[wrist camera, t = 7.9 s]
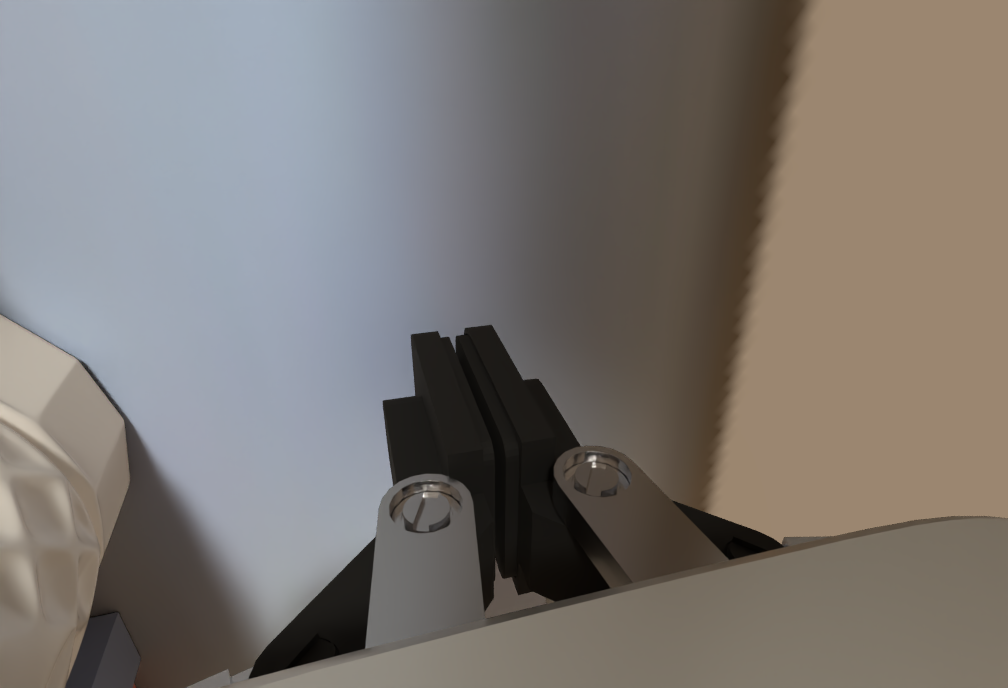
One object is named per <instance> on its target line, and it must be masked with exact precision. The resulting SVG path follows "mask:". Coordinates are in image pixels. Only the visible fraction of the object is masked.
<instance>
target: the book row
mask: <svg viewBox="0 0 1008 688" xmlns="http://www.w3.org/2000/svg"><path fill="white" fill-rule="evenodd" d="M140 660H141V658H140V656H139V654H138V652H137V650H136V647H135V645H134V643H133V641H132V639H131V637H130V635H129V633H128V631H127V629H126V627H125V625H124V623H123V621H122V619H121V617H120V615H119V613H118V612H117V613H112V614H108V615H103V616H98V617H94V618H89V621H88V624H87V627H86V630H85V633H84V636H83V639H82V642H81V645H80V648H79V651H78V654H77V657H76V660H75V662H74V665H73V668H72V670H71V673H70V675H69V678H68V680H67V683H66V687H65V688H136V686H135V684H134V681H135V678H136V674H137V671H138V667H139V664H140Z"/></svg>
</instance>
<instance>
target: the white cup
mask: <svg viewBox="0 0 1008 688" xmlns="http://www.w3.org/2000/svg"><path fill="white" fill-rule="evenodd" d="M129 484H130V472H129V462H128V452H127V442H126V433H125V423H124V419H123V418H122V416H121V415H120V414H119V413H118V411H117V410H116V409H115V407H114V406H113V405H112V403H111V402H110V401H109V400H108V398H107V397H106V396H105V394H104V393H103V392H102V390H101V389H100V388H99V387H98V385H97V384H96V383H95V381H94V380H93V379H92V377H91V376H90V375H89V373H88V372H87V371H86V370H85V368H84V367H83V366H82V364H81V363H80V362H79V361H78V360H77V359H76V358H75V357H73V356H71V355H69V354H68V353H66V352H64V351H63V350H61V349H59V348H57V347H56V346H54V345H52V344H51V343H49V342H47V341H45V340H44V339H42V338H40V337H38V336H37V335H35V334H33V333H32V332H30V331H28V330H26V329H25V328H23V327H21V326H20V325H18V324H16V323H14V322H13V321H11V320H9V319H7V318H6V317H4V316H2V315H1V314H0V688H65V687H66V683H67V680H68V678H69V675H70V673H71V670H72V668H73V665H74V662H75V660H76V657H77V654H78V651H79V648H80V645H81V642H82V639H83V636H84V633H85V630H86V627H87V624H88V621H89V617H90V612H91V608H92V603H93V598H94V593H95V588H96V582H97V577H98V570H99V566H100V564H101V561H102V559H103V556H104V553H105V550H106V548H107V545H108V542H109V540H110V537H111V534H112V531H113V529H114V526H115V523H116V520H117V518H118V515H119V512H120V510H121V507H122V504H123V501H124V499H125V496H126V493H127V490H128V487H129Z"/></svg>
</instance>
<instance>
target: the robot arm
mask: <svg viewBox="0 0 1008 688" xmlns="http://www.w3.org/2000/svg"><path fill="white" fill-rule="evenodd" d="M411 346H412V359H413V371H414V383H415V396H412V397H405V398H398V399H391V400H384V401H383V410H384V419H385V428H386V436H387V444H388V452H389V460H390V467H391V474H392V480H393V487H391V488H390V489H389V490H388V491H387V493H386V494H385V495H384V496H383V498H382V500H381V503H380V506H379V510H378V521H377V531H376V537H375V538H374V539H373V540H372V541H371V542H370V543H369V544H368V545H367V546H366V547H365V548H364V549H363V550H362V551H361V552H360V553H359V554H358V555H357V556H356V557H355V558H354V559H353V560H352V561H351V562H350V563H349V564H348V565H347V566H346V567H345V568H344V569H343V570H342V571H341V572H340V573H339V574H338V575H337V576H336V577H335V578H334V579H333V580H332V581H331V582H330V583H329V584H328V585H327V586H326V587H325V588H324V589H323V590H322V591H321V592H320V593H319V594H318V595H317V596H316V597H315V598H314V599H313V600H312V601H311V602H310V603H309V604H308V605H307V606H306V607H305V608H304V609H303V610H302V611H301V612H300V613H299V614H298V615H297V617H296V618H295V619H294V620H293V621H292V622H291V623H290V624H289V625H288V626H287V627H286V628H285V629H284V630H283V631H282V632H281V633H280V634H279V635H278V636H277V637H276V638H275V639H274V640H273V641H272V642H271V643H270V644H269V645H268V646H267V647H266V649H265V650H264V651H263V652H262V654H261V655H260V656H259V657H258V659H257V660H256V662H255V664H254V667H252V668H249V669H247V670H245V671H243V672H240V673H238V674H236V675H234V676H231V675H230V672H229V670H228V669H227V670H225V671H222V672H220V673H218V674H216V675H213V676H211V677H209V678H206V679H204V680H202V681H200V682H197V683H195V684H193V685H190V686H188V687H186V688H1008V518H1000V517H988V516H951V517H941V518H932V519H923V520H922V519H921V520H914V521H908V522H904V523H898V524H892V525H887V526H881V527H875V528H870V529H865V530H861V531H856V532H852V533H847V534H842V535H838V536H830V537H784V539H783V542H782V544H780V543H779V542H777V541H776V540H774V539H773V538H771V537H769V536H767V535H765V534H762V533H760V532H758V531H756V530H752V529H750V528H747V527H744V526H742V525H739V524H736V523H733V522H731V521H728V520H725V519H722V518H719V517H717V516H714V515H711V514H708V513H705V512H703V511H700V510H697V509H694V508H691V507H689V506H686V505H683V504H680V503H678V502H675V501H672V500H670V499H669V498H668V497H667V496H666V495H665V494H664V492H663V491H662V490H661V489H660V488H659V487H658V486H657V485H656V484H655V483H654V482H653V481H652V480H651V479H650V478H649V477H648V476H647V475H646V474H645V473H644V472H643V471H642V470H641V469H640V468H639V467H638V466H637V465H636V464H635V463H634V462H633V461H632V460H631V459H630V458H628V457H627V456H626V455H624V454H622V453H620V452H618V451H616V450H614V449H611V448H606V447H602V446H580V444H579V443H578V441H577V440H576V438H575V436H574V435H573V433H572V431H571V430H570V428H569V427H568V425H567V423H566V422H565V420H564V418H563V417H562V415H561V414H560V412H559V410H558V409H557V407H556V406H555V404H554V402H553V401H552V399H551V397H550V396H549V394H548V393H547V391H546V389H545V388H544V386H543V385H542V383H541V382H540V381H539V379H530V380H523V379H522V377H521V375H520V374H519V372H518V370H517V368H516V367H515V365H514V363H513V361H512V360H511V358H510V356H509V354H508V353H507V351H506V349H505V347H504V346H503V344H502V342H501V340H500V339H499V337H498V335H497V333H496V332H495V330H494V328H493V327H492V325H487V326H478V327H470V328H465V330H464V335H460V336H456V353H455V350H454V348H453V345H452V343H451V340H450V338H449V337H443V338H440V335H439V333H438V331H436V332H428V333H419V334H411ZM495 558H496V561H497V564H498V568H499V571H500V573H501V576H502V578H503V579H505V578H509V577H512V579H513V582H514V584H515V587H516V590H517V593H518V595H520V594H525V593H529V592H535V593H537V594H540V595H542V596H544V597H546V604H545V605H540V606H536V607H532V608H528V609H524V610H520V611H516V612H512V613H508V614H504V615H499V616H495V617H491V618H487V619H485V614H484V612H485V610H486V609H487V607H488V606H489V604H490V603H491V601H492V600H493V598H494V581H495Z"/></svg>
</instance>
